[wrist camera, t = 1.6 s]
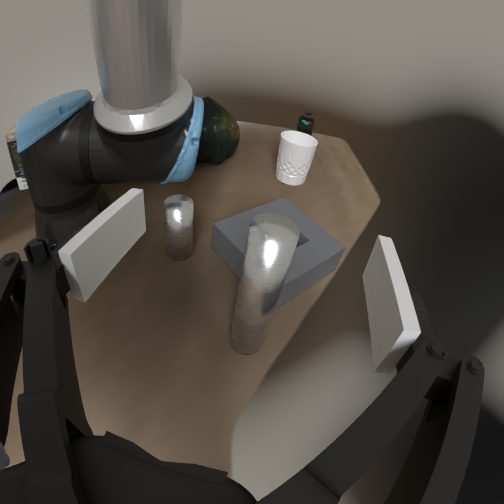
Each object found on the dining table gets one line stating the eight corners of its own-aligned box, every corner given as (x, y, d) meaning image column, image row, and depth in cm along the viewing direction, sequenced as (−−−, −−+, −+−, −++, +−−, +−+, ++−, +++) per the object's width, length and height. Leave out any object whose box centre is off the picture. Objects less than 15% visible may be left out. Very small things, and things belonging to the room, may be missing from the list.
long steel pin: (223, 336, 36) (238, 222, 23) (249, 321, 38) (276, 207, 25) (243, 360, 34) (272, 253, 21) (268, 343, 36) (309, 235, 23)
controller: (308, 142, 83) (316, 111, 76) (306, 158, 74) (315, 124, 67) (294, 138, 83) (301, 107, 76) (290, 154, 74) (298, 119, 67)
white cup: (284, 165, 69) (293, 128, 62) (313, 179, 66) (324, 141, 59) (265, 176, 64) (273, 135, 57) (295, 191, 61) (306, 149, 54)
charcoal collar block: (211, 248, 46) (213, 223, 43) (277, 220, 54) (283, 197, 50) (270, 311, 39) (277, 288, 36) (335, 269, 47) (345, 247, 43)
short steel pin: (162, 247, 45) (158, 200, 39) (184, 238, 47) (184, 191, 41) (174, 264, 43) (172, 215, 37) (197, 254, 45) (198, 206, 39)
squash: (206, 160, 55) (237, 95, 54) (151, 144, 59) (180, 86, 58) (231, 179, 69) (256, 124, 68) (182, 163, 73) (206, 112, 72)
